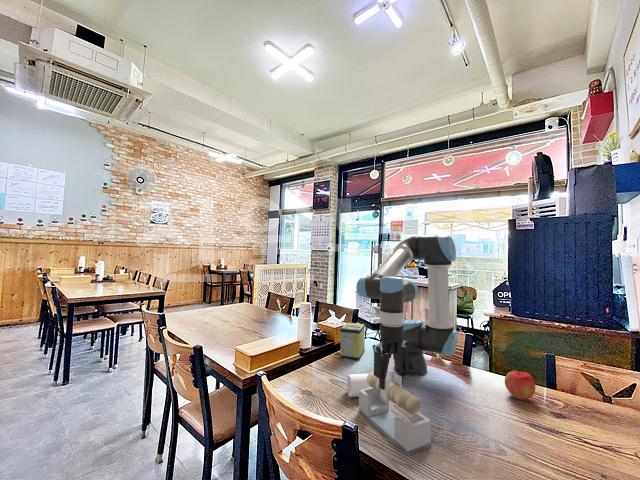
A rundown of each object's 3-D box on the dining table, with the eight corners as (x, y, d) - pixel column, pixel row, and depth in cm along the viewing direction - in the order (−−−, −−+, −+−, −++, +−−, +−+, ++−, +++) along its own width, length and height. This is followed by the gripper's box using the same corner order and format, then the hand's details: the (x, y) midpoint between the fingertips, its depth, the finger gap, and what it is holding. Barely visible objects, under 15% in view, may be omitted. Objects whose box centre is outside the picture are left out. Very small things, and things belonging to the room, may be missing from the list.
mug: (376, 399, 108) (376, 378, 109) (351, 401, 107) (351, 379, 107) (367, 385, 120) (367, 366, 120) (344, 386, 119) (344, 367, 119)
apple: (531, 395, 113) (531, 369, 113) (538, 407, 104) (537, 379, 105) (503, 390, 117) (502, 365, 117) (507, 401, 108) (506, 374, 109)
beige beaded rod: (369, 388, 100) (364, 376, 99) (380, 380, 102) (375, 368, 101) (411, 418, 82) (405, 403, 81) (422, 407, 84) (417, 393, 83)
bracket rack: (379, 405, 104) (379, 385, 104) (430, 446, 82) (430, 420, 83) (358, 411, 100) (359, 390, 100) (407, 456, 78) (407, 428, 79)
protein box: (364, 351, 161) (364, 323, 162) (359, 361, 146) (359, 330, 147) (346, 348, 165) (347, 321, 165) (340, 358, 150) (340, 328, 151)
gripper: (404, 319, 100) (404, 386, 99) (362, 324, 92) (361, 397, 91) (420, 324, 93) (420, 396, 92) (376, 329, 85) (375, 409, 84)
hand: (391, 396), depth 91 cm, fingers closed on beige beaded rod, 5 cm apart
